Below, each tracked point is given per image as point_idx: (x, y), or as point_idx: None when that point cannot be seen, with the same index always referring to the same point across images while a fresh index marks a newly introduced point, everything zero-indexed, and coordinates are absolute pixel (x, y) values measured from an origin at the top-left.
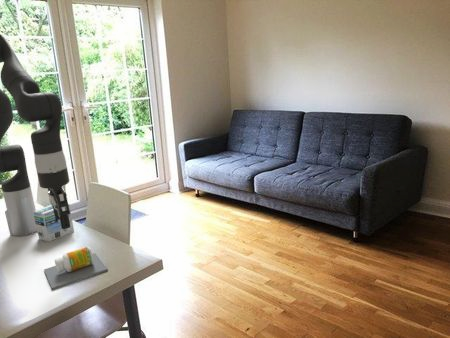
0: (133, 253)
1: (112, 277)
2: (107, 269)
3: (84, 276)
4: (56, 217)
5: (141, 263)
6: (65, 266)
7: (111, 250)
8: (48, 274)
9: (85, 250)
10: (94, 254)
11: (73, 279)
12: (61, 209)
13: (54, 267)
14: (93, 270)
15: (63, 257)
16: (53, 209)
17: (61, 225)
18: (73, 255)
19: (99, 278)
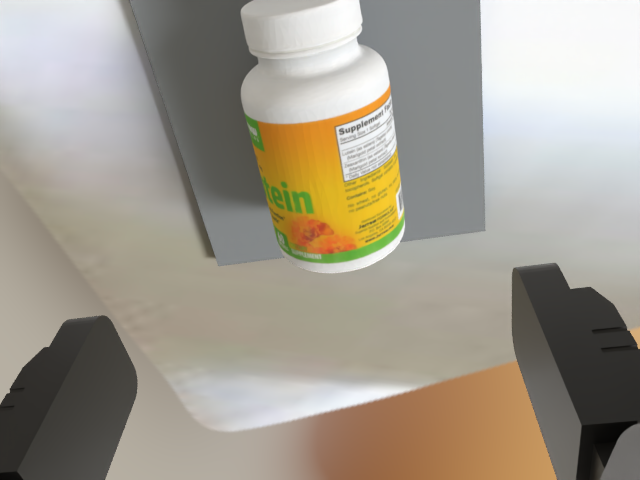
0: (352, 380)
1: (130, 268)
2: (218, 263)
3: (181, 147)
4: (526, 298)
5: (217, 388)
6: (257, 65)
7: (474, 304)
8: None
9: (307, 244)
10: (465, 226)
11: (172, 82)
12: (557, 462)
13: None
14: (238, 200)
15: (295, 83)
16: (603, 396)
17: (49, 354)
18: (277, 160)
19: (148, 212)
